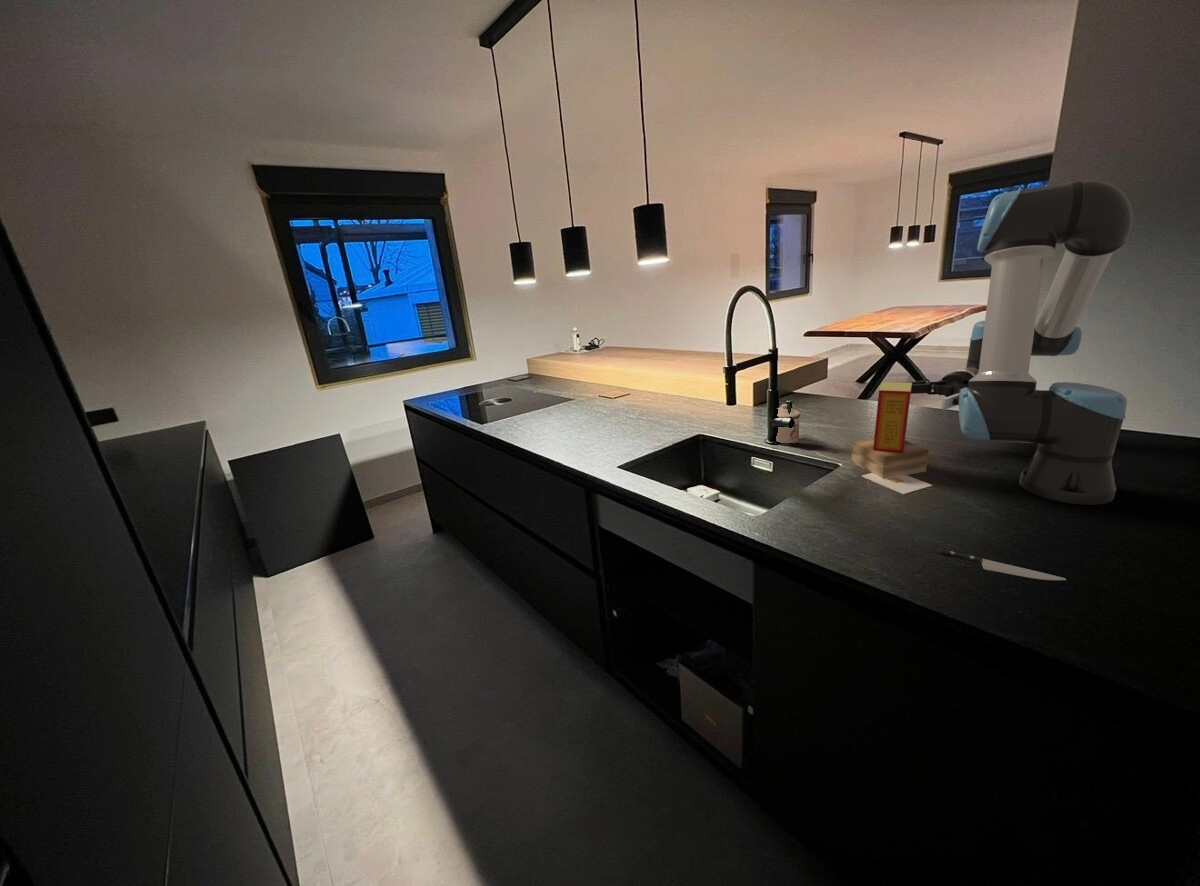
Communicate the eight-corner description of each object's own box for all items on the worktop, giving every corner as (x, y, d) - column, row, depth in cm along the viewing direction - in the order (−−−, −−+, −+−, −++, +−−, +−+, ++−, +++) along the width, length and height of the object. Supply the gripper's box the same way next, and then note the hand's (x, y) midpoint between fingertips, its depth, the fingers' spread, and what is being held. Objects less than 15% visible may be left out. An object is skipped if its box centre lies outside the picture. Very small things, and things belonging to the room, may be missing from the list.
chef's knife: (1078, 593, 76) (1076, 582, 78) (1080, 588, 75) (1078, 577, 77) (934, 559, 87) (935, 551, 89) (934, 554, 86) (936, 546, 89)
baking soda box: (876, 438, 128) (882, 380, 123) (904, 440, 124) (912, 381, 119) (873, 450, 121) (879, 389, 115) (903, 453, 117) (910, 390, 112)
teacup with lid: (796, 446, 144) (797, 409, 140) (765, 443, 149) (766, 407, 145) (803, 433, 153) (805, 399, 150) (774, 431, 158) (775, 397, 154)
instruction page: (932, 485, 112) (932, 484, 112) (903, 494, 110) (903, 492, 110) (888, 469, 123) (888, 467, 123) (861, 476, 121) (861, 475, 121)
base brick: (925, 471, 119) (928, 449, 117) (882, 479, 118) (884, 456, 116) (890, 455, 131) (893, 435, 129) (850, 462, 129) (852, 441, 127)
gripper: (1013, 405, 122) (966, 423, 113) (913, 389, 143) (868, 404, 134) (1019, 376, 119) (971, 393, 110) (916, 365, 140) (870, 378, 132)
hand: (914, 399), depth 122 cm, fingers open, 13 cm apart
